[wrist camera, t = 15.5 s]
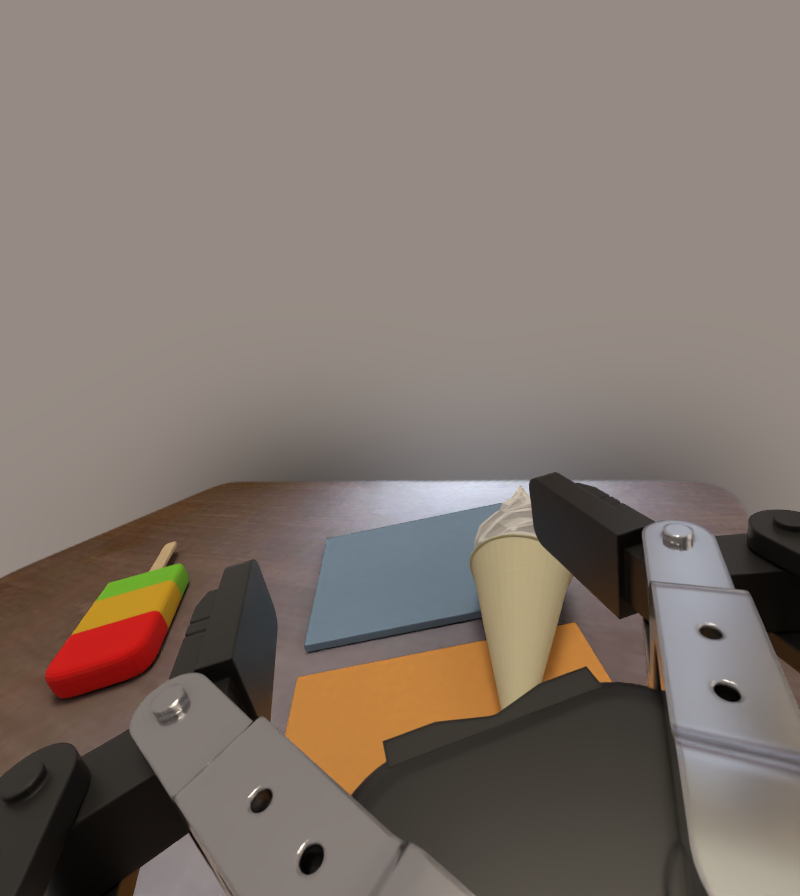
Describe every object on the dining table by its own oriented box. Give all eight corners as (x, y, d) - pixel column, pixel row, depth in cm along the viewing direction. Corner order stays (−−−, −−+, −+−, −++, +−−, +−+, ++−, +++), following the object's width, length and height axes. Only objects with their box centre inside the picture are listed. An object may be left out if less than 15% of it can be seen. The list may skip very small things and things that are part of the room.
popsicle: (46, 709, 23) (30, 683, 22) (143, 561, 37) (134, 542, 36) (152, 676, 24) (139, 650, 23) (207, 543, 38) (200, 525, 37)
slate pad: (502, 508, 33) (501, 502, 33) (559, 602, 23) (558, 595, 23) (328, 543, 33) (326, 538, 33) (306, 652, 23) (303, 645, 23)
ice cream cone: (582, 794, 16) (558, 517, 28) (605, 731, 13) (567, 453, 25) (448, 761, 17) (480, 510, 29) (442, 697, 14) (481, 448, 26)
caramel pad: (575, 629, 21) (575, 621, 21) (771, 953, 11) (773, 943, 10) (299, 684, 21) (297, 676, 21) (224, 1054, 11) (218, 1043, 11)
